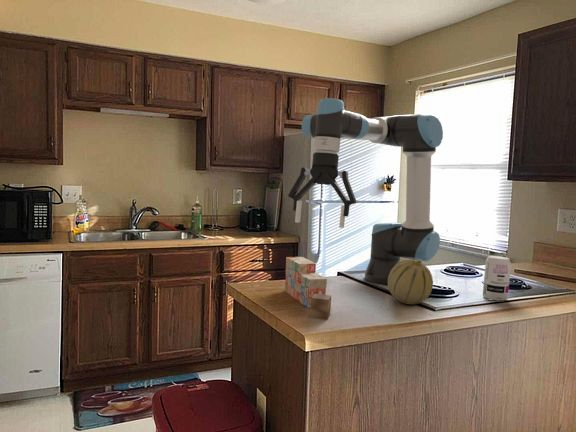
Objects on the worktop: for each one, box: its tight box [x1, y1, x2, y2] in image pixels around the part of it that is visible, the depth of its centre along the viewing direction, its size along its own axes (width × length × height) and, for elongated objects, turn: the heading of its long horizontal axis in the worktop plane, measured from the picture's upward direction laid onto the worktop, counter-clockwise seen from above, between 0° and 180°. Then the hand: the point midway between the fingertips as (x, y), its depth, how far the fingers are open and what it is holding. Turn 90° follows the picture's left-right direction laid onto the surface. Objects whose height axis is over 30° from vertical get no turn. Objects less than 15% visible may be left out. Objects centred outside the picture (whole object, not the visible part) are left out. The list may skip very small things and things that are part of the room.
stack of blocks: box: [284, 256, 328, 309], centre depth 159 cm, size 21×6×12 cm, turn 20°
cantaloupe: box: [387, 259, 434, 305], centre depth 160 cm, size 15×15×15 cm
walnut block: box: [310, 294, 332, 321], centre depth 141 cm, size 5×5×6 cm
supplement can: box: [482, 255, 512, 301], centre depth 172 cm, size 8×8×15 cm
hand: (319, 225), depth 142 cm, fingers open, 13 cm apart
